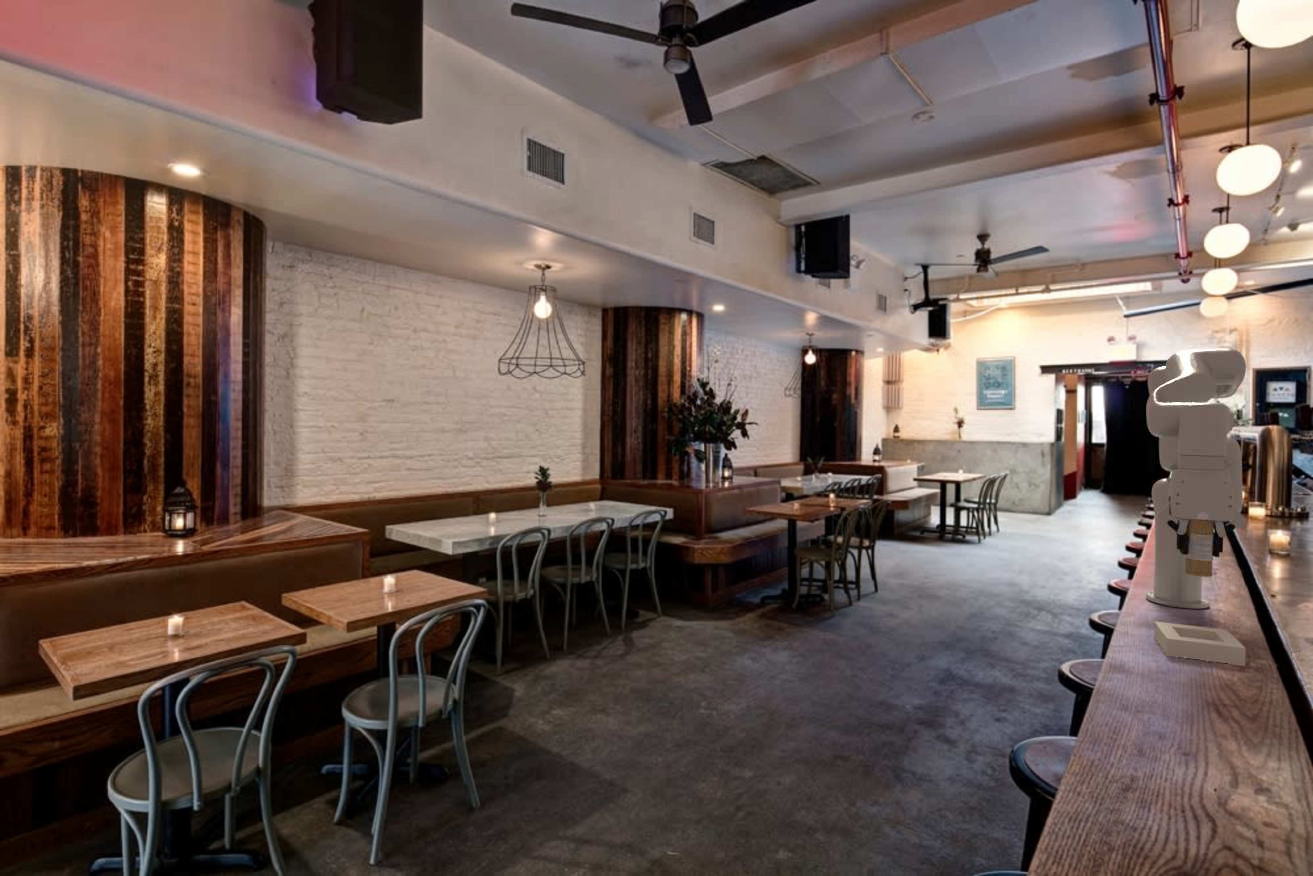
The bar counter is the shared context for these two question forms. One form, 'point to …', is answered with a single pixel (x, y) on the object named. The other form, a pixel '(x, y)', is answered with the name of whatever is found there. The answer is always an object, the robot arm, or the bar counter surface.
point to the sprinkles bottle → (1200, 546)
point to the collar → (1199, 643)
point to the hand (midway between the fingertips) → (1199, 553)
